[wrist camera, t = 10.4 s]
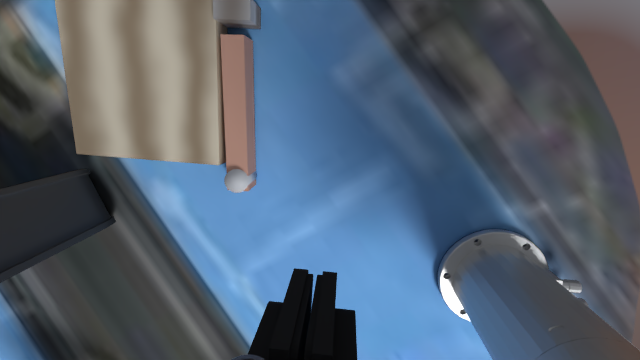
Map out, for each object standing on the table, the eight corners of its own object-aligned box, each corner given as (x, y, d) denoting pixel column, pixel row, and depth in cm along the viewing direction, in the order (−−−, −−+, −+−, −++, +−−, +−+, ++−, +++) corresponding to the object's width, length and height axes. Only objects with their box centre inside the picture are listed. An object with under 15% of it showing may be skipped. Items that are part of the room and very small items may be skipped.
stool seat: (260, -4, 32) (250, -18, 28) (259, 162, 36) (249, 168, 33) (77, -12, 33) (45, -25, 30) (97, 150, 38) (72, 154, 34)
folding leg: (256, 185, 37) (247, 193, 33) (236, 183, 37) (225, 192, 34) (253, 40, 33) (243, 33, 29) (230, 40, 33) (217, 33, 30)
